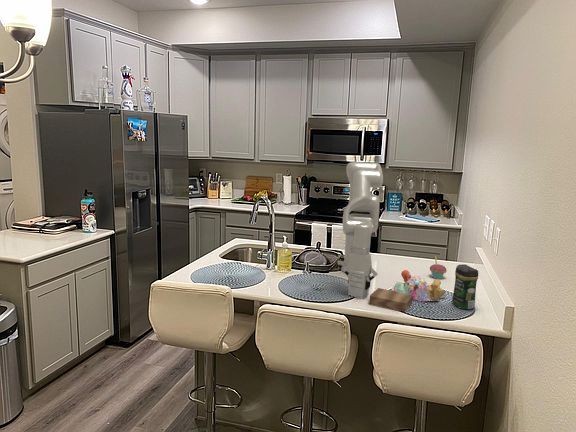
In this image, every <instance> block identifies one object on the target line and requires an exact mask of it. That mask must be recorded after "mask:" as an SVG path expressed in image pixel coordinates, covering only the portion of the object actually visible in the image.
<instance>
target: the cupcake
mask: <svg viewBox="0 0 576 432" xmlns="http://www.w3.org/2000/svg"><path fill="white" fill-rule="evenodd" d="M434 260H435V264H431V265H430V266H429V271H430V272H431V275H432V278H433V279H437V280H441V279H443V276H444V275H445V273H447V271H448V270H447V268H446V267H445V265H443V264H439V263H437V261H438V260H437V256H436V255H434Z"/></svg>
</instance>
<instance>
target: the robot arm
mask: <svg viewBox="0 0 576 432" xmlns="http://www.w3.org/2000/svg"><path fill="white" fill-rule="evenodd" d="M346 176H347V179H348V182H349V196H348V204H347V205H346V207H345V208H344V210H343V213H342V214H343V215H342V231H343V234H344V235H345V247H344V260H337V265H338V266H341V268H340V270H341V271H342V272H343V273H345V275H346V276H347V284H348V285H349V272H350V269H351V270H356V271H361V272H365V277H366V279H367V281H366V290H368V289H369V290H370V288H371V283H372V282H371V281H372V280H373V279H375V278H376V276H377V275H378V272H377V271H376V270H374V268H373V267H372V265H373V264H372V263H373V261H372V255H371V253H370V251H371V250H370V249H371V238H372V234H373V233H375V232H377V230H378V229H379V218H380V217H379V215H380V198H379V196H378V195H376V194H372V193H371V188H374V189H375V188H377V189H378V188H381V187H382V186H383V184H384V183H383V182H384V175H383V169H382V166H381V164H380V163H378V162H365V161H364V162H363V161H362V162H361V161H353V162H352V161H351V162H348V163H347V164H346ZM351 212H356V213H351ZM357 212H360V213H357ZM364 213H366V214H364ZM367 213H369V214H367ZM371 274H372V275H371Z"/></svg>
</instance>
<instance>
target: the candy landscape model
mask: <svg viewBox="0 0 576 432" xmlns="http://www.w3.org/2000/svg"><path fill="white" fill-rule="evenodd" d="M401 277H402V279H403V281H404V282H400V281H397V282H395V284H394V286H391V291H396V292H401V293H405V294H410V295H413V300H412V301H415V300H418V301H417V302H421V301H429V300H432V301H439V302H440V299H444V298H446V294H445V293H446V291H445V290H444V289H443V288H441V287H440V286H441V284H442V283H441V282H442V281H440V279H436V278H434V280H433V282H432V283H431V284H428V282H427V280H426V279H425V278H422V277H421V276H420V275H414V276H412V274H410V271H409V270H408V269H403V270H402V271H401ZM419 300H421V301H419Z"/></svg>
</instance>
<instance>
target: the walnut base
mask: <svg viewBox="0 0 576 432" xmlns="http://www.w3.org/2000/svg"><path fill="white" fill-rule="evenodd" d="M368 299H369V300H368V305H371V306H374V307H378V308H379V307H380V308H384V309H389V310H393V311H397V312H401V311H403V312H402V313H406V312H407V311H406V310H409V308H410V307H411V306H412V304H413V301H414V300H413V295H410V294H405V293H401V292H396V291H392V289H390V290H389V289H387V288H385V289H384V288H380V287H379V288H377V289H375V290H374V291H373V292H372V293H371V294H370V295H369V297H368ZM410 305H411V306H410ZM409 306H410V307H409ZM408 307H409V308H408ZM405 311H406V312H405Z"/></svg>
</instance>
